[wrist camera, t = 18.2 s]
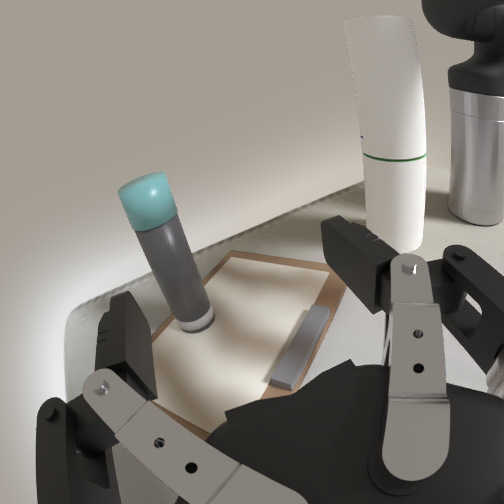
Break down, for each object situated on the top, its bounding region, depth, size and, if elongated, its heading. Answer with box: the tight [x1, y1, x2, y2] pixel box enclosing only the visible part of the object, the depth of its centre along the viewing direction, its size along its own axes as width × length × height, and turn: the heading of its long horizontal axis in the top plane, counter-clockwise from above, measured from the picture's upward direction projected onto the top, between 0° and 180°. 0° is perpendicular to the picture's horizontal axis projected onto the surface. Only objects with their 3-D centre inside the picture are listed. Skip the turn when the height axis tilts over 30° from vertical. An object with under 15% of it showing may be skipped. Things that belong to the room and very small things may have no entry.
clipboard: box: [150, 250, 347, 441], centre depth 27 cm, size 22×15×2 cm
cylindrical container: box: [342, 15, 426, 254], centre depth 28 cm, size 7×7×25 cm
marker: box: [118, 172, 215, 334], centre depth 25 cm, size 4×4×14 cm
